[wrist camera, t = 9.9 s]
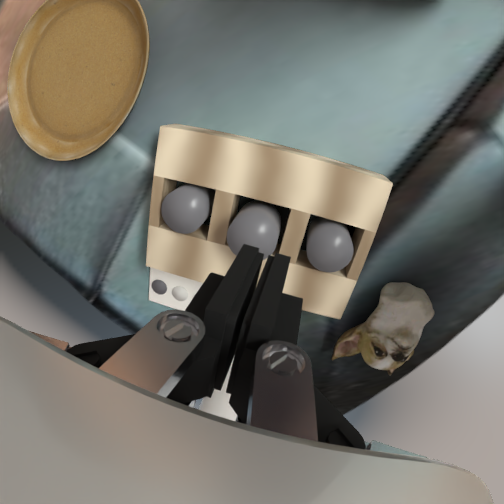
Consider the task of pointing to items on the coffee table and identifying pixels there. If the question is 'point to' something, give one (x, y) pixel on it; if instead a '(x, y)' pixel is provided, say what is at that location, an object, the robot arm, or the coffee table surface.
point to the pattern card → (172, 289)
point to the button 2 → (328, 244)
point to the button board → (268, 190)
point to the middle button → (255, 228)
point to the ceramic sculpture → (389, 328)
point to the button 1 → (187, 207)
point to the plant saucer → (77, 74)
